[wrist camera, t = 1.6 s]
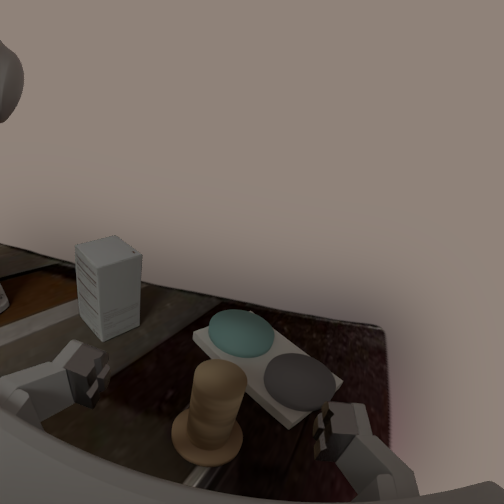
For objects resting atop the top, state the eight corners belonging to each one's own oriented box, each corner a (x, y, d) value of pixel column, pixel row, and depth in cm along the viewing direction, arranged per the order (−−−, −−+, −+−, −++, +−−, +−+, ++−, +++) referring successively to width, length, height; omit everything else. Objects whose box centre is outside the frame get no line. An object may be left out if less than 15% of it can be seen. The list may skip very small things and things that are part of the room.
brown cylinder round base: (157, 427, 31) (159, 364, 26) (211, 402, 37) (226, 338, 32) (200, 479, 26) (214, 427, 22) (254, 445, 32) (282, 387, 27)
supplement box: (115, 302, 50) (116, 233, 44) (140, 326, 46) (144, 254, 41) (78, 316, 44) (73, 243, 39) (101, 344, 40) (97, 267, 35)
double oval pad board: (188, 335, 47) (190, 321, 46) (245, 314, 55) (248, 302, 54) (294, 434, 34) (302, 423, 33) (344, 391, 42) (352, 379, 41)
